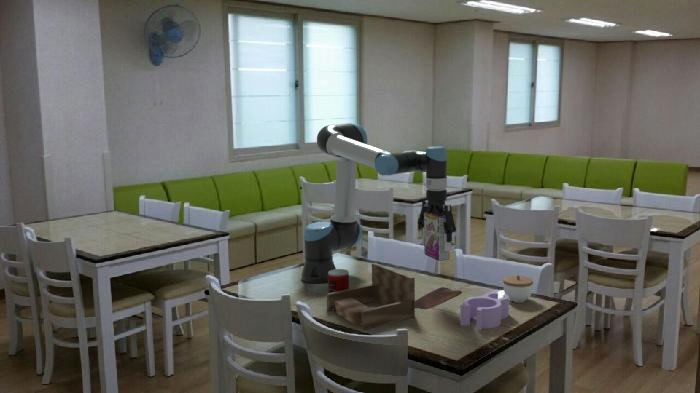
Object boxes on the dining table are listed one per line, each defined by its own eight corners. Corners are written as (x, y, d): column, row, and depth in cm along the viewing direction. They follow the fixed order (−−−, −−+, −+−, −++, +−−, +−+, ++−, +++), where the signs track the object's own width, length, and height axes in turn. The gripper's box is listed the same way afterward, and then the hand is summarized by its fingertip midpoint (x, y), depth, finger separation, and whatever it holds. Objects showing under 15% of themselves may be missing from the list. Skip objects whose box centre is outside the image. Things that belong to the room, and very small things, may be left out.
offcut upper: (335, 308, 227) (334, 301, 226) (352, 304, 230) (352, 297, 230) (353, 320, 214) (353, 312, 214) (371, 316, 218) (371, 309, 217)
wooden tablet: (426, 308, 227) (403, 300, 233) (426, 314, 228) (403, 305, 234) (464, 290, 247) (442, 283, 253) (463, 295, 248) (441, 288, 254)
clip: (486, 308, 229) (486, 290, 228) (517, 316, 220) (518, 297, 219) (453, 323, 215) (453, 304, 214) (485, 332, 206) (486, 312, 205)
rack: (327, 309, 231) (326, 272, 228) (375, 298, 242) (375, 262, 240) (363, 329, 211) (363, 288, 208) (414, 316, 222) (414, 277, 220)
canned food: (351, 297, 244) (350, 269, 242) (345, 303, 237) (345, 275, 235) (332, 296, 246) (331, 268, 244) (326, 302, 239) (325, 274, 237)
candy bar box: (423, 254, 241) (423, 212, 239) (435, 253, 243) (434, 210, 240) (438, 261, 231) (438, 217, 228) (450, 260, 233) (450, 215, 230)
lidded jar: (499, 302, 235) (500, 277, 233) (506, 294, 244) (506, 270, 243) (529, 306, 230) (530, 280, 229) (535, 297, 240) (535, 273, 238)
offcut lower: (336, 314, 227) (336, 307, 227) (353, 311, 231) (353, 304, 230) (354, 326, 215) (354, 319, 215) (372, 322, 218) (372, 315, 218)
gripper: (408, 186, 241) (408, 242, 244) (450, 194, 221) (450, 255, 224) (423, 184, 245) (424, 240, 248) (466, 191, 225) (466, 252, 228)
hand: (436, 247), depth 236 cm, fingers closed on candy bar box, 12 cm apart
